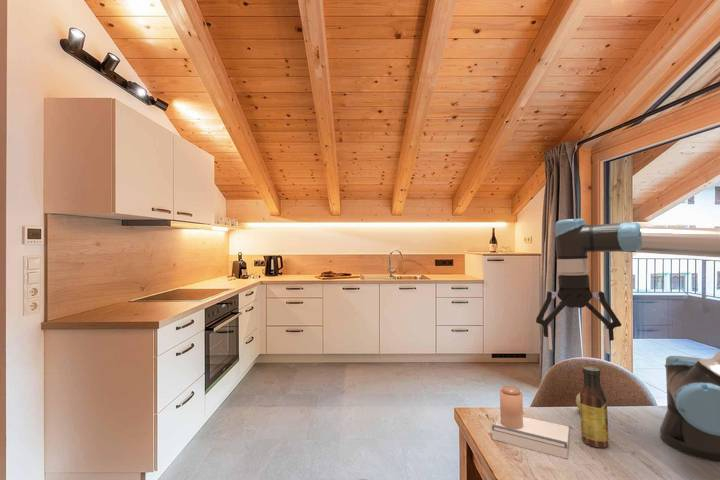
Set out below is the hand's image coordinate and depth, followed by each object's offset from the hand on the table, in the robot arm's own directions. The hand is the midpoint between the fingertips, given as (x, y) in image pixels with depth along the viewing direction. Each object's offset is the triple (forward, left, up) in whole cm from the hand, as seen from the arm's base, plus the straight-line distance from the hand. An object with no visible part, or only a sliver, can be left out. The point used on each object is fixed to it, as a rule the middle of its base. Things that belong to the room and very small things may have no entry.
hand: (578, 350), depth 99 cm
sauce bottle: (-3, 0, -25) cm, 25 cm away
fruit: (-2, -19, -25) cm, 31 cm away
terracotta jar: (+17, +6, -22) cm, 28 cm away
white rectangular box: (+12, +6, -24) cm, 28 cm away
